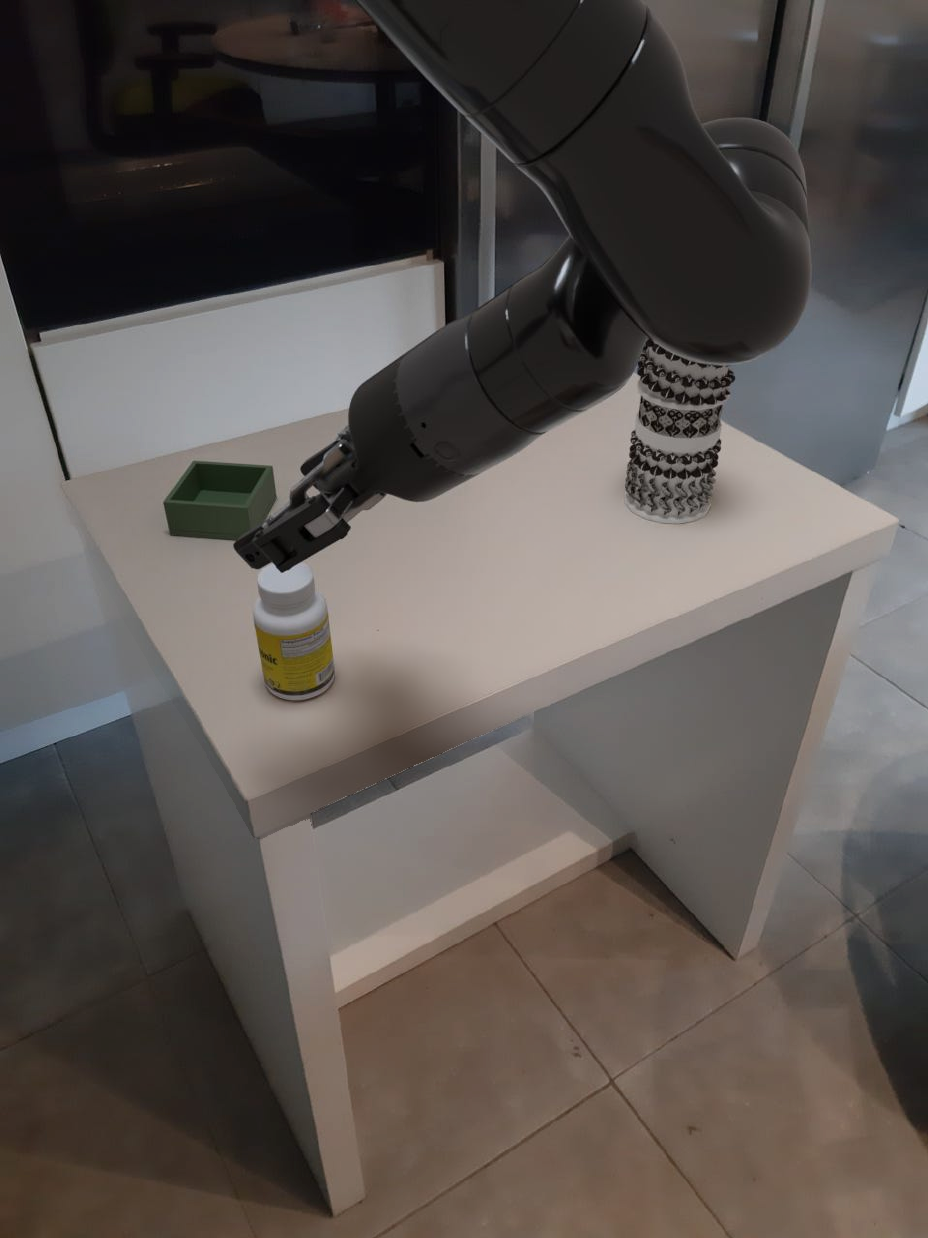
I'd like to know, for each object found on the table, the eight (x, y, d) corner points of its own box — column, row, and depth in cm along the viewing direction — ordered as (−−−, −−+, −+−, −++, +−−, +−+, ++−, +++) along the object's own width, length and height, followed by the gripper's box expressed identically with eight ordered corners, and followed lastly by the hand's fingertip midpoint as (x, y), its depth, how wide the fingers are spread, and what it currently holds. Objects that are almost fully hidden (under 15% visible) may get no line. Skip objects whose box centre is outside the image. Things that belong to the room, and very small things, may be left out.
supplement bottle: (259, 664, 77) (242, 561, 71) (327, 651, 78) (316, 548, 72) (270, 709, 73) (252, 603, 67) (341, 695, 74) (331, 589, 68)
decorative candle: (649, 469, 102) (682, 218, 87) (730, 497, 97) (780, 238, 82) (601, 504, 96) (628, 242, 81) (686, 536, 92) (730, 265, 76)
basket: (252, 541, 91) (247, 507, 89) (169, 535, 92) (162, 501, 89) (276, 497, 97) (272, 465, 95) (199, 492, 98) (193, 460, 96)
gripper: (459, 292, 56) (292, 413, 66) (348, 421, 46) (175, 538, 57) (537, 396, 58) (365, 495, 69) (447, 538, 49) (264, 628, 60)
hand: (279, 514), depth 63 cm, fingers open, 8 cm apart
